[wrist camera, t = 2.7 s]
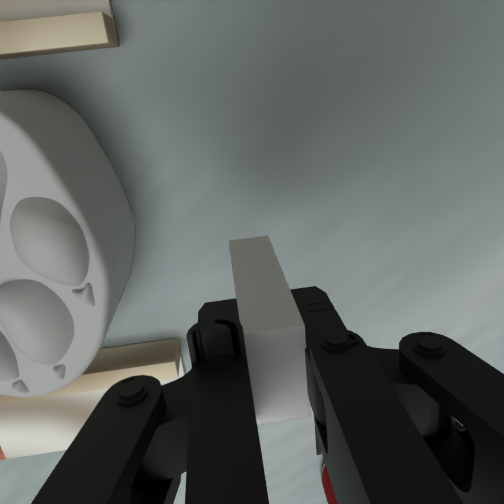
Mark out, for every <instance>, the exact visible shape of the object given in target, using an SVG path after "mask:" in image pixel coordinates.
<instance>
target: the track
mask: <svg viewBox="0 0 504 504" xmlns="http://www.w3.org/2000/svg"><path fill="white" fill-rule="evenodd" d="M110 47H119V44H118V39H117V34H116V29H115V24H114V19H113V14H112V9H111V4H110V0H0V59H8V58H17V57H27V56H36V55H45V54H54V53H63V52H73V51H82V50H91V49H100V48H110ZM137 375H148V376H153V377H155V378H156V379H158V380H159V381H160V383H161V385H164V384H167V383H169V382H172V381H174V380H176V379H179V378H181V377H182V376H184V375H185V372H184V367H183V362H182V357H181V352H180V347H179V342H178V338H174V339H167V340H160V341H153V342H146V343H139V344H132V345H125V346H117V347H110V348H103V349H99V351H98V352H97V354H96V356H95V358H94V359H93V361H92V362H91V364H90V365H89V366H88V368H87V369H86V370H85V371H84V373H83V374H82V375H81V376H80V377H79V378H78V379H76V380H75V381H74V382H72V383H71V384H69V385H68V386H66V387H65V388H63V389H60V390H58V391H56V392H53V393H50V394H47V395H44V396H38V397H14V396H7V395H1V394H0V460H2V459H9V458H16V457H22V456H29V455H35V454H42V453H49V452H55V451H62V450H67V449H68V447H69V446H70V444H71V443H72V441H73V440H74V438H75V437H76V435H77V434H78V432H79V431H80V429H81V428H82V426H83V425H84V423H85V422H86V420H87V419H88V417H89V416H90V414H91V413H92V411H93V410H94V408H95V407H96V405H97V404H98V402H99V401H100V399H101V398H102V396H103V395H104V393H105V392H106V391H107V390H108V389H109V388H110V387H111V386H112V385H114V384H115V383H117V382H119V381H120V380H123V379H125V378H128V377H131V376H137Z"/></svg>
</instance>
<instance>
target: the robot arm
mask: <svg viewBox="0 0 504 504" xmlns="http://www.w3.org/2000/svg"><path fill="white" fill-rule="evenodd" d="M229 248H230V255H231V262H232V270H233V277H234V285H235V292H236V299H229V300H221V301H214V302H207V303H205V304H204V305H203V306H202V308H201V309H200V310H199V312H198V323H196V324H195V325H193V326H192V327H191V328H190V329H189V330H188V333H187V335H186V336H187V342H188V347H189V352H190V358H191V363H192V369H191V370H190V371H189V372H188V373H187V374H185V375H184V376H182V377H181V378H179V379H176V380H174V381H172V382H169V383H167V384H164V385H161V383H160V381H159V380H158V379H156V378H155V377H153V376H148V375H137V376H131V377H128V378H125V379H123V380H120V381H119V382H117V383H115V384H114V385H112V386H111V387H110V388H109V389H108V390H107V391H106V392H105V393H104V395H103V396H102V398H101V399H100V401H99V402H98V404H97V405H96V407H95V408H94V410H93V411H92V413H91V414H90V416H89V417H88V419H87V420H86V422H85V423H84V425H83V426H82V428H81V429H80V431H79V432H78V434H77V435H76V437H75V438H74V440H73V441H72V443H71V444H70V446H69V447H68V449H67V450H66V452H65V453H64V455H63V456H62V458H61V459H60V461H59V462H58V464H57V465H56V467H55V468H54V470H53V471H52V473H51V474H50V476H49V477H48V479H47V480H46V482H45V483H44V485H43V486H42V488H41V489H40V491H39V492H38V494H37V495H36V497H35V498H34V500H33V501H32V503H31V504H173V503H174V500H175V497H176V494H177V491H178V488H179V485H180V481H181V474H182V473H184V472H186V471H187V474H186V494H185V504H269V500H268V493H267V487H266V480H265V474H264V467H263V460H262V454H261V447H260V441H259V434H258V427H257V425H259V424H265V423H271V422H278V421H284V420H291V419H297V418H303V417H310V416H311V408H310V404H311V407H312V410H313V413H314V420H315V435H316V450H317V455H319V454H321V452H322V455H323V458H324V461H325V465H326V468H327V471H328V474H329V477H330V481H331V484H332V487H333V490H334V494H335V497H336V500H337V503H338V504H504V374H503V373H501V372H500V371H498V370H497V369H495V368H494V367H492V366H491V365H489V364H488V363H486V362H485V361H483V360H482V359H480V358H479V357H477V356H476V355H474V354H473V353H471V352H470V351H468V350H467V349H466V348H464V347H463V346H461V345H460V344H458V343H457V342H455V341H454V340H452V339H450V338H448V337H446V336H444V335H440V334H436V333H432V332H417V333H411V334H409V335H407V336H405V337H403V338H402V340H401V341H400V342H399V349H382V348H373V347H370V346H367V345H366V344H365V342H364V340H363V339H362V338H361V337H360V336H359V335H358V334H356V333H354V332H352V331H349V330H347V329H346V327H345V325H344V324H343V322H342V320H341V318H340V317H339V315H338V313H337V311H336V310H335V309H334V306H333V304H332V303H331V301H330V299H329V297H328V296H327V294H326V292H324V291H322V290H321V289H319V288H317V287H316V286H313V287H306V288H299V289H291V290H290V288H289V286H288V283H287V281H286V279H285V276H284V274H283V271H282V269H281V266H280V264H279V261H278V259H277V257H276V254H275V252H274V249H273V247H272V244H271V242H270V239H269V237H268V236H262V237H254V238H247V239H239V240H232V241H229ZM455 419H456V420H457V421H459V422H460V423H461V424H462V425H463V426H462V425H461V424H460V423H459V422H457V421H456V420H455Z"/></svg>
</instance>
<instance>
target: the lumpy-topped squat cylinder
mask: <svg viewBox="0 0 504 504" xmlns="http://www.w3.org/2000/svg"><path fill="white" fill-rule="evenodd" d="M135 235H136V226H135V220H134V216H133V213H132V210H131V207H130V205H129V202H128V200H127V197H126V195H125V192H124V190H123V188H122V185H121V183H120V181H119V179H118V177H117V175H116V173H115V171H114V169H113V167H112V165H111V163H110V161H109V159H108V157H107V156H106V154H105V153H104V151H103V150H102V148H101V146H100V144H99V143H98V141H97V139H96V137H95V136H94V134H93V132H92V131H91V129H90V128H89V126H88V125H87V124H86V122H85V121H84V120H83V119H82V117H81V116H80V115H79V114H78V113H77V112H76V111H75V110H74V109H73V108H71V107H70V106H69V105H68V104H66V103H65V102H63V101H62V100H60V99H59V98H57V97H55V96H53V95H51V94H48V93H46V92H43V91H39V90H33V89H22V90H4V91H0V394H1V395H7V396H14V397H38V396H44V395H47V394H50V393H53V392H56V391H58V390H60V389H63V388H65V387H66V386H68V385H69V384H71V383H72V382H74V381H75V380H76V379H78V378H79V377H80V376H81V375H82V374H83V373H84V371H85V370H86V369H87V368H88V366H89V365H90V364H91V362H92V361H93V359H94V358H95V356H96V354H97V352H98V351H99V349H100V347H101V345H102V343H103V341H104V338H105V336H106V333H107V331H108V329H109V326H110V324H111V321H112V319H113V316H114V314H115V311H116V309H117V306H118V304H119V301H120V299H121V296H122V294H123V291H124V289H125V286H126V284H127V281H128V279H129V276H130V273H131V269H132V264H133V257H134V249H135Z"/></svg>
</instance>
